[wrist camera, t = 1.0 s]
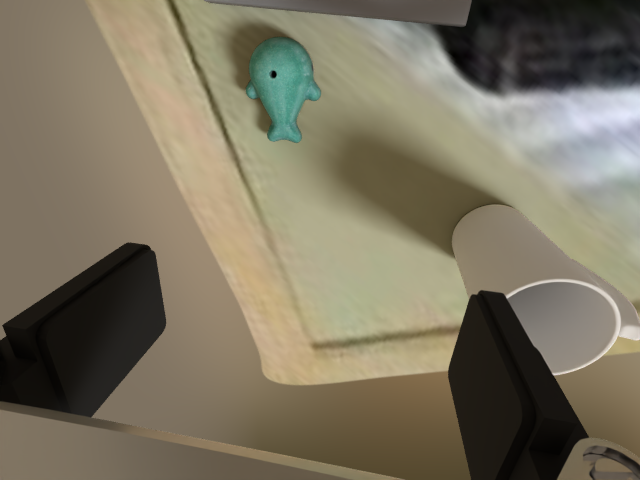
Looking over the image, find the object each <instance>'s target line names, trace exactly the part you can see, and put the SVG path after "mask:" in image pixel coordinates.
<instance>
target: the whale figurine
mask: <svg viewBox="0 0 640 480" xmlns="http://www.w3.org/2000/svg"><path fill="white" fill-rule="evenodd" d="M249 74H250V78H251V80H250V82H249V84H248V85H247V87H246V94H247V96H248V97H249V98H251V99H256V98H260V99H261V102H262V104H263V106H264V107H265V109H266V111H267V113H268V115H269V116H270V118H271V121H272V123H271V126H270V128H269V130H268V133H267V137H268V139H269V140H270V141H273V142H275V141H278V140H289V141H292V142H295V143H298V142H300V141H301V139H302V135H301V132H300V130H299V128H298V126H297V123H296V120H297V117H298V115H299V113H300V111H301V109H302V106H303V104H304V102H305V100H308V99H309V100H312V101H316V100H318V99H319V98H320V96H321V90H320V88H319V87H318V85H317V84H316V82H315V81H314V64H313V61H312V58H311V56H310V54H309V53H308V51H307V50H306V49H305V47H304V46H303V45H301V44H300V43H299V42H297V41H295V40H293V39H291V38H286V37H273V38H270V39H267V40H265V41H263V42H262V43H261V44H260V45H259V46H258V47H257V48H256V49H255V50H254V52H253V54H252V56H251V59H250V63H249Z"/></svg>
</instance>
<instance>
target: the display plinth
mask: <svg viewBox="0 0 640 480" xmlns="http://www.w3.org/2000/svg"><path fill="white" fill-rule="evenodd" d="M204 1H207V2H209V3H216V4H226V5H237V6H247V7H258V8H268V9H279V10H289V11H300V12H311V13H321V14H332V15H342V16H353V17H363V18H374V19H384V20H395V21H405V22H416V23H426V24H437V25H447V26H458V27H463V26H465V25H466V22H467V18H468V14H469V9H470V5H471V1H472V0H204Z"/></svg>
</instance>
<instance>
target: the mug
mask: <svg viewBox="0 0 640 480" xmlns="http://www.w3.org/2000/svg"><path fill="white" fill-rule="evenodd" d="M452 248H453V251H454V255H455V258H456V262H457V265H458V267H459V270H460V273H461V276H462V279H463V282H464V285H465V288H466V291H467V294H468V297H469V299H470V296H471V295H472V294H476V295H477V294H478V292H479V291H480V290H485V291H493V292H500V293H503V294H504V295H505V296H506V298H507V300H508V301H509V303H510V305H511V307H512V309H513V310H514V312H515V314H516V316H517V317H518V319H519V321H520V323H521V324H522V326H523V328H524V330H525V331H526V333H527V335H528V337H529V338H530V340H531V342H532V344H533V346H534V347H536V348H537V349H538V350H539V352H540V353H541V355H542V357H543V358H544V360H545V362H546V363H547V365H548V367H549V369H550V370H551V372H552V374H553V375H559V374H564V373H568V372H572V371H575V370H578V369H580V368H583V367H585V366H587V365H589V364H591V363H593V362H594V361H596V360H597V359H599V358H600V357H601V356H603V355H604V354H605V353H606V352H607V351H608V350H609V349H610V348H611V346H612V345H613V344H614V342H615V341H616V339H617V337H618V336H620V337H624V338H628V339H632V340H640V321H639V317H638V314H637V311H636V309H635V308H634V306H633V305H632V303H631V302H630V301H629V300H628V299H627V298H626V297H625V296H624V295H623V294H622V293H621V292H620V291H618V290H617V289H616V288H615V287H613V286H612V285H611V284H610V283H608V282H607V281H605V280H604V279H603V278H601V277H600V276H598V275H597V274H595V273H594V272H592V271H591V270H589V269H588V268H586V267H585V266H583V265H582V264H580V263H579V262H577V261H575V260H574V259H571V258H570V257H568V256H567V255H566V254H565V253H564V252H563V251H562V250H561V249H560V248H559V247H558V246H557V245H556V244H554V243H553V242H552V241H551V240H550V239H549V238H548V237H547V236H546V235H545V234H544V233H543V232H542V231H541V230H540V229H539V228H538V227H536V226H535V225H534V224H533V223H532V222H531V221H529V220H528V219H527V218H526V217H525V216H524V215H523V214H522V213H520V212H519V211H518V210H516V209H514V208H512V207H509V206H505V205H498V204H493V205H486V206H482V207H479V208H476V209H474V210H472V211H471V212H469V213H468V214H466V215H465V216H464V217H463V218H462V219H461V220H460V221H459V223H458V224H457V226H456V227H455V229H454V232H453V236H452Z"/></svg>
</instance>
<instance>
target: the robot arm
mask: <svg viewBox="0 0 640 480" xmlns="http://www.w3.org/2000/svg"><path fill="white" fill-rule="evenodd" d="M2 326H3V328H4V331H5V333H6V337H4V338H3V339H2V340H0V480H403V479H399V478H394V477H389V476H384V475H379V474H374V473H370V472H365V471H360V470H355V469H350V468H344V467H340V466H335V465H330V464H325V463H320V462H315V461H310V460H305V459H300V458H296V457H291V456H286V455H281V454H276V453H271V452H265V451H260V450H255V449H250V448H245V447H240V446H235V445H230V444H225V443H220V442H215V441H210V440H204V439H199V438H194V437H189V436H184V435H179V434H174V433H169V432H164V431H159V430H153V429H149V428H143V427H137V426H132V425H127V424H122V423H116V422H112V421H107V420H101V419H96V418H91V417H92V416H93V415H94V413H95V412H96V411H97V410H98V409H99V407H100V406H101V405H102V404H103V403H104V402H105V400H106V399H107V398H108V397H109V396H110V394H111V393H112V392H113V391H114V390H115V388H116V387H117V386H118V385H119V384H120V383H121V381H122V380H123V379H124V378H125V377H126V375H127V374H128V373H129V372H130V371H131V369H132V368H133V367H134V366H135V365H136V363H137V362H138V361H139V360H140V359H141V358H142V356H143V355H144V354H145V353H146V352H147V350H148V349H149V348H150V347H151V346H152V345H153V343H154V342H155V341H156V340H157V339H158V337H159V336H160V335H161V334H162V332H163V331H164V329H165V326H166V317H165V311H164V305H163V298H162V292H161V286H160V280H159V273H158V267H157V260H156V255H155V252H154V251H152V250H151V248H150V247H149V246H148V245H144V244H136V243H126V244H124V245H122V246H121V247H119V248H118V249H116V250H115V251H113V252H112V253H111V254H109V255H107V256H106V257H104V258H103V259H101V260H100V261H99V262H97V263H96V264H94V265H92V266H91V267H89V268H88V269H87V270H85V271H83V272H82V273H81V274H79V275H77V276H76V277H74V278H73V279H71V280H70V281H68V282H67V283H65V284H64V285H63V286H61V287H59V288H58V289H56V290H55V291H53V292H52V293H50V294H49V295H47V296H46V297H44V298H43V299H41V300H40V301H39V302H37V303H35V304H34V305H32V306H31V307H29V308H28V309H26V310H25V311H23V312H22V313H20V314H19V315H17V316H16V317H14V318H13V319H11V320H9V321H8V322H6V323H5V324H4V325H2ZM448 378H449V382H450V387H451V392H452V396H453V400H454V405H455V409H456V414H457V418H458V422H459V427H460V432H461V436H462V440H463V445H464V449H465V454H466V458H467V462H468V467H469V471H470V476H471V480H640V458H639V457H637V456H636V455H634V454H633V453H632V452H630V451H628V450H626V449H625V448H623V447H621V446H619V445H617V444H615V443H612V442H609V441H606V440H603V439H596V438H589V436H588V435H587V433H586V431H585V430H584V428H583V426H582V424H581V422H580V421H579V419H578V417H577V415H576V414H575V412H574V410H573V409H572V407H571V405H570V404H569V402H568V400H567V398H566V397H565V395H564V393H563V391H562V389H561V388H560V386H559V384H558V383H557V381H556V379H555V378H554V376H553V374H552V372H551V370H550V369H549V367H548V365H547V363H546V362H545V360H544V358H543V357H542V355H541V353H540V352H539V350H538V349H537V348H536V347H534V346H533V344H532V342H531V340H530V338H529V337H528V335H527V333H526V331H525V330H524V328H523V326H522V324H521V323H520V321H519V319H518V317H517V316H516V314H515V312H514V310H513V309H512V307H511V305H510V303H509V301H508V300H507V298H506V296H505V295H504V294H503V293H500V292H493V291H485V290H480V291H479V292H478V294H477V295H476V294H472V295H471V296H470V299H469V302H468V305H467V309H466V312H465V315H464V319H463V322H462V325H461V328H460V332H459V335H458V338H457V342H456V345H455V348H454V352H453V355H452V358H451V361H450V365H449V370H448Z"/></svg>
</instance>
